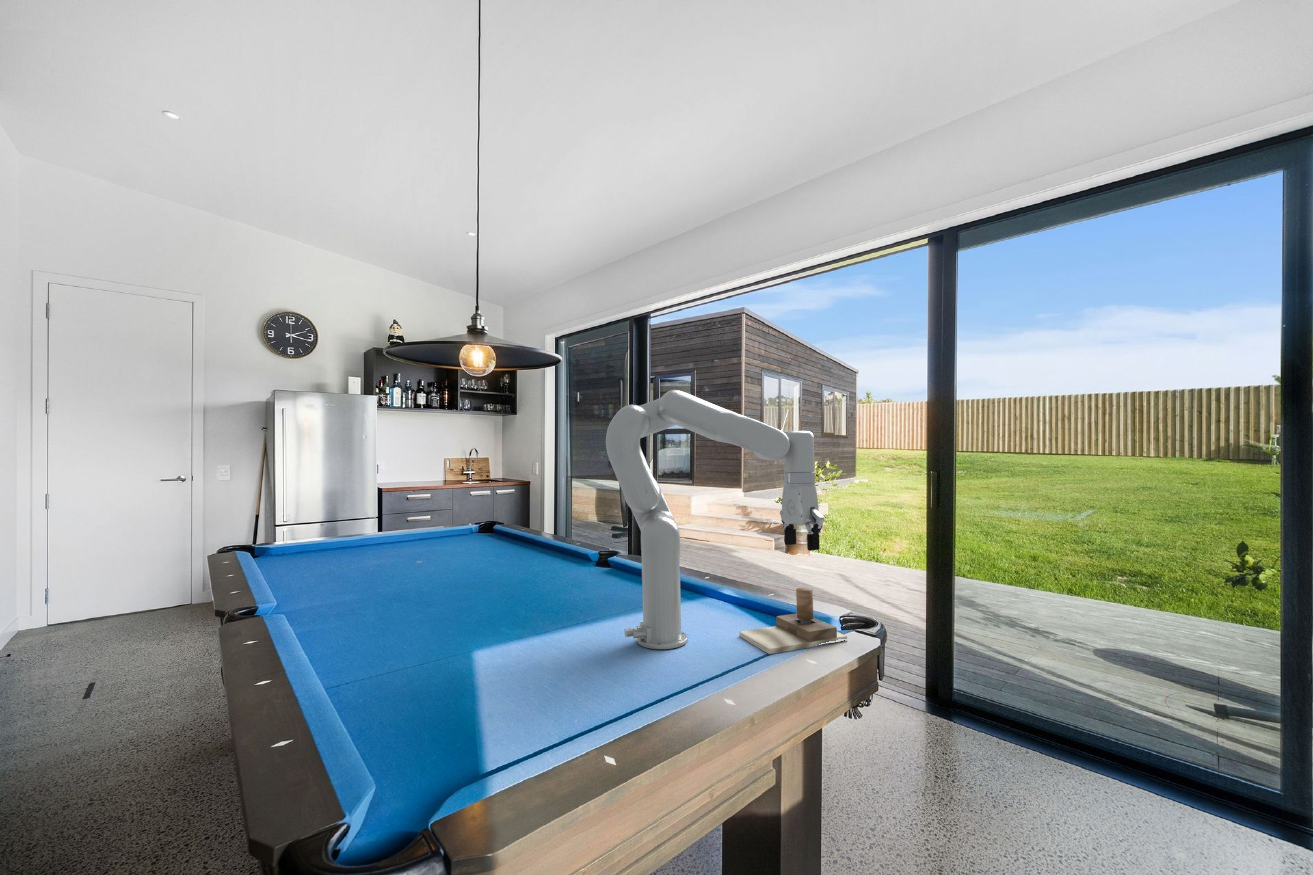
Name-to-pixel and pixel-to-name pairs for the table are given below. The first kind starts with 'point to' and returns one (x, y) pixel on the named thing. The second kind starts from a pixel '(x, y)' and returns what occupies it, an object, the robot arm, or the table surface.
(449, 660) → the table surface
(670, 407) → the robot arm
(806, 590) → the tan rounded cylinder
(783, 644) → the subfloor panel
